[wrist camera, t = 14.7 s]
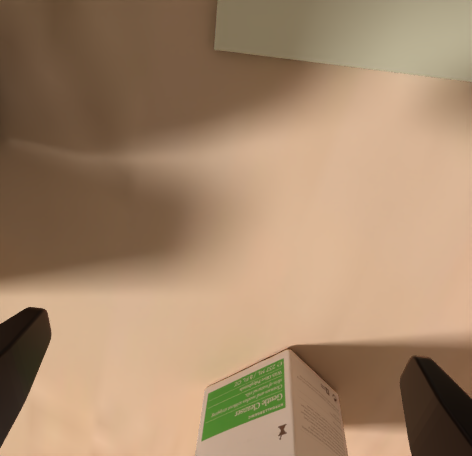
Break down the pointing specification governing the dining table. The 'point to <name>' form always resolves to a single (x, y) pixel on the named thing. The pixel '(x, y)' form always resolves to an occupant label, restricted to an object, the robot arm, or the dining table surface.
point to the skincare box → (272, 413)
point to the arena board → (354, 33)
